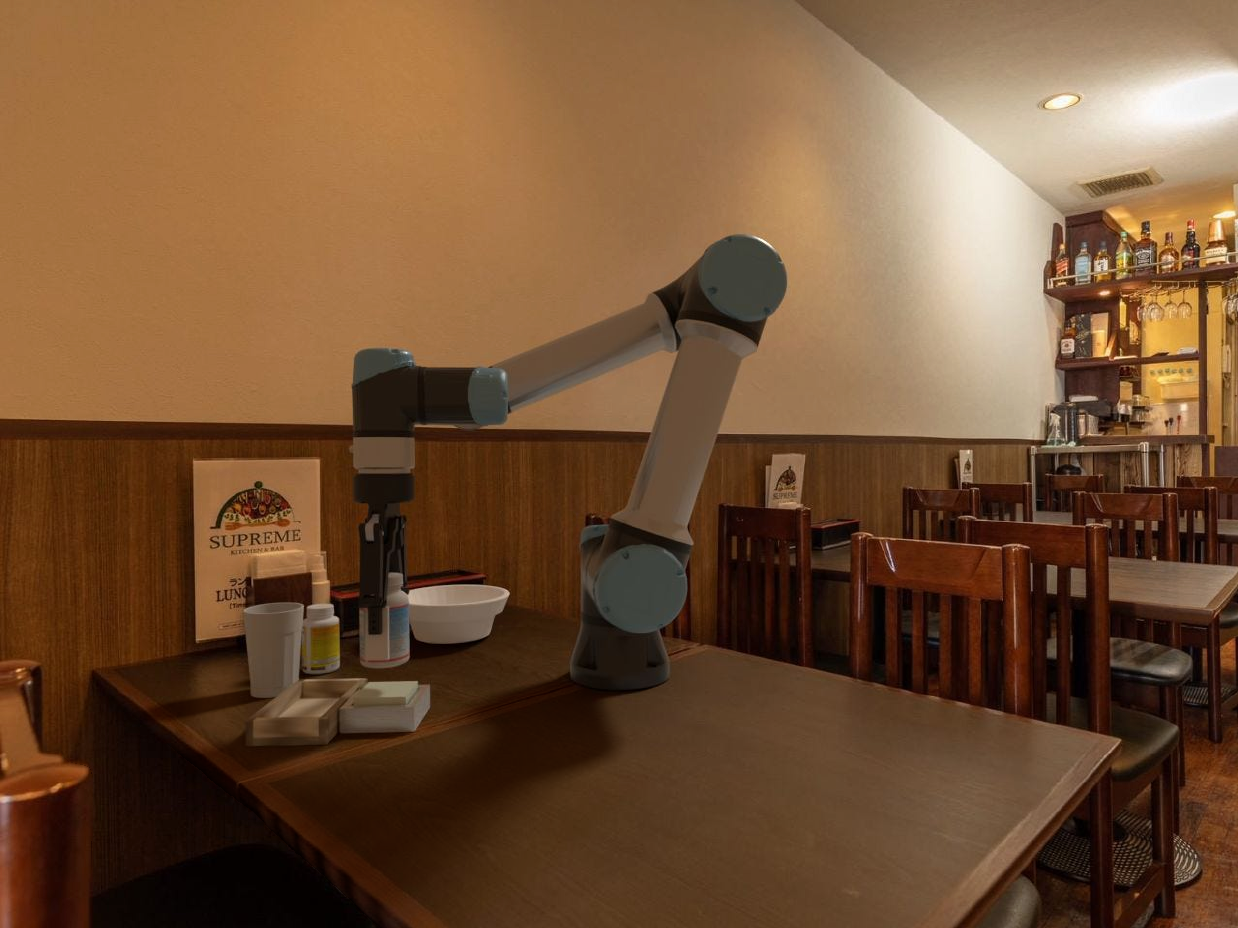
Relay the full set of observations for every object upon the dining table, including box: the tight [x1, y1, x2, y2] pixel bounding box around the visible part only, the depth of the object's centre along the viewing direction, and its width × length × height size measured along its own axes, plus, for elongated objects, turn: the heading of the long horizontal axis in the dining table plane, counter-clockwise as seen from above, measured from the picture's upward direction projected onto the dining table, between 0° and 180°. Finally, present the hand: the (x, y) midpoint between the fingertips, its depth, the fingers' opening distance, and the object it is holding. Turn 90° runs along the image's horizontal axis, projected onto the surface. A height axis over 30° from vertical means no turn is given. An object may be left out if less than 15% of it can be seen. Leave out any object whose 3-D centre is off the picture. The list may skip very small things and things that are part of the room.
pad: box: [354, 680, 419, 706], centre depth 96 cm, size 6×6×1 cm
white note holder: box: [339, 682, 431, 734], centre depth 96 cm, size 9×9×3 cm
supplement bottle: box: [301, 603, 341, 675], centre depth 118 cm, size 6×6×10 cm
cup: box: [242, 602, 305, 699], centre depth 108 cm, size 8×8×12 cm
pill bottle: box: [358, 573, 411, 669], centre depth 95 cm, size 6×6×11 cm
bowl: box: [407, 584, 511, 645], centre depth 139 cm, size 21×21×8 cm
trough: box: [244, 677, 368, 747], centre depth 95 cm, size 9×16×3 cm, turn 2°
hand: (385, 651), depth 95 cm, fingers closed on pill bottle, 6 cm apart
